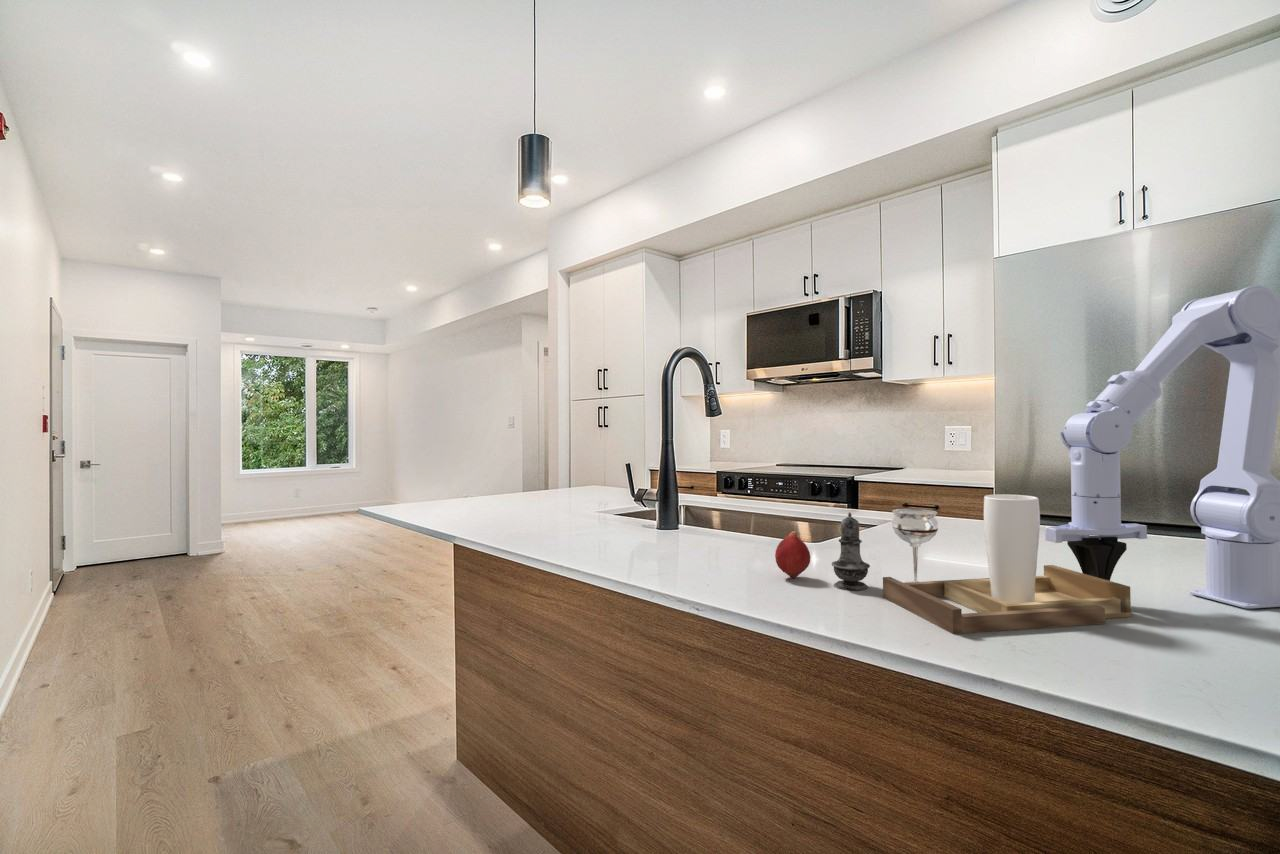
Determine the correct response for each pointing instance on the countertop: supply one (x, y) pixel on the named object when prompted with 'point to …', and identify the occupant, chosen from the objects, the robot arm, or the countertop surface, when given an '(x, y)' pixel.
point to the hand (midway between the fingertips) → (1096, 590)
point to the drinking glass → (1012, 545)
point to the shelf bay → (951, 618)
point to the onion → (792, 555)
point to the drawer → (1048, 593)
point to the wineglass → (915, 529)
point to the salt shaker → (850, 558)
